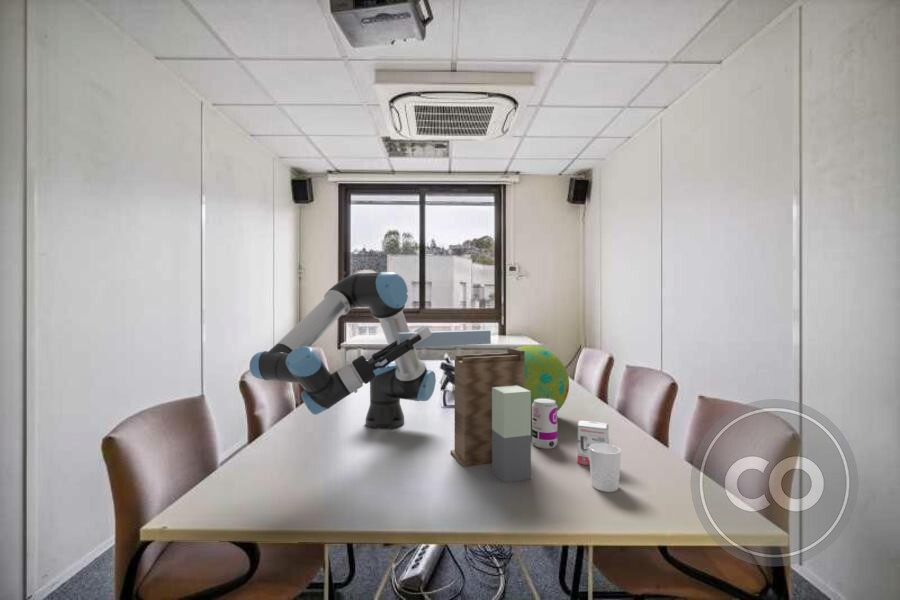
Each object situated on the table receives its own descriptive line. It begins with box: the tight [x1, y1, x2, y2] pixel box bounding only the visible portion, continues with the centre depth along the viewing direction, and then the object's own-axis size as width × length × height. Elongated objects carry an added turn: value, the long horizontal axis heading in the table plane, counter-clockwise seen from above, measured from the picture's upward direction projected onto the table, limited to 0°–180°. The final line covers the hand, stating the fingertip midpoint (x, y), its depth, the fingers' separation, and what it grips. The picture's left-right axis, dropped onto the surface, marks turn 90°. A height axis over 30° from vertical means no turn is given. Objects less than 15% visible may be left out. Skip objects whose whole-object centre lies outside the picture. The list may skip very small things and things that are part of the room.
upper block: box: [492, 385, 532, 438], centre depth 116 cm, size 8×8×12 cm
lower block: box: [491, 430, 532, 484], centre depth 116 cm, size 8×8×12 cm
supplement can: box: [531, 398, 558, 450], centre depth 139 cm, size 8×8×15 cm
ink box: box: [577, 420, 609, 466], centre depth 124 cm, size 9×5×12 cm, turn 68°
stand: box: [450, 347, 525, 467], centre depth 130 cm, size 22×11×33 cm, turn 108°
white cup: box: [589, 443, 622, 493], centre depth 109 cm, size 8×8×10 cm
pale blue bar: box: [397, 329, 492, 348], centre depth 124 cm, size 28×4×4 cm, turn 108°
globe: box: [515, 345, 570, 422], centre depth 170 cm, size 30×30×30 cm
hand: (427, 329), depth 122 cm, fingers closed on pale blue bar, 4 cm apart
